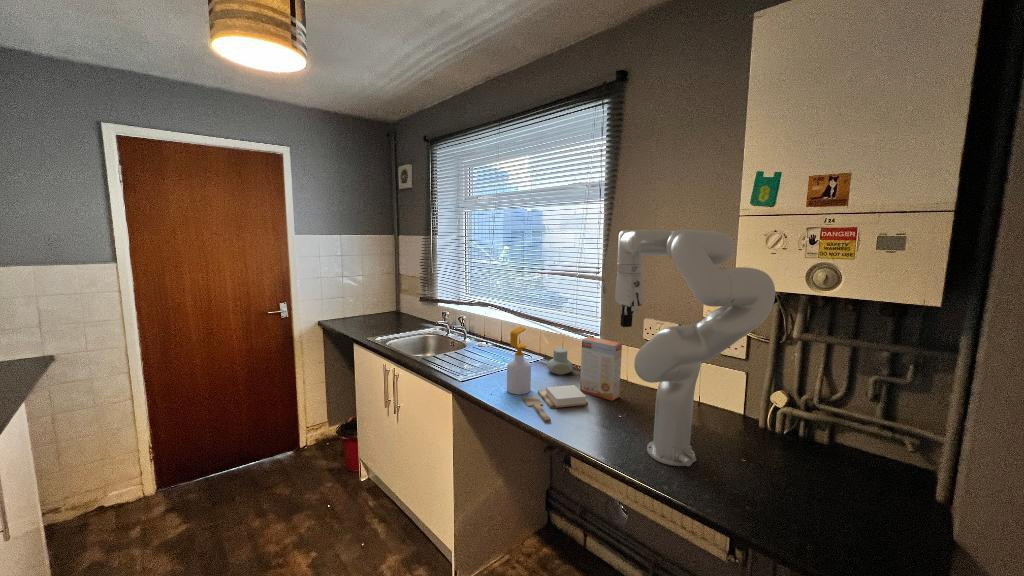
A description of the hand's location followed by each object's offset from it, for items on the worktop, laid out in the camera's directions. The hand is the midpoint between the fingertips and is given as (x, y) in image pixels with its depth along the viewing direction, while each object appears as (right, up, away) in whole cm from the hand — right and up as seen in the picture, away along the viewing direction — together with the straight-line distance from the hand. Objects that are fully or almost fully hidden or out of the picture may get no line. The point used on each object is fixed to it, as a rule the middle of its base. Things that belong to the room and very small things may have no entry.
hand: (626, 326), depth 136 cm
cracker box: (-4, -28, +24) cm, 37 cm away
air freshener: (-16, -25, +47) cm, 56 cm away
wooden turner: (-28, -30, +10) cm, 42 cm away
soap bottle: (-34, -27, +26) cm, 51 cm away
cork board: (-18, -28, +19) cm, 39 cm away
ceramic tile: (-16, -27, +10) cm, 33 cm away
